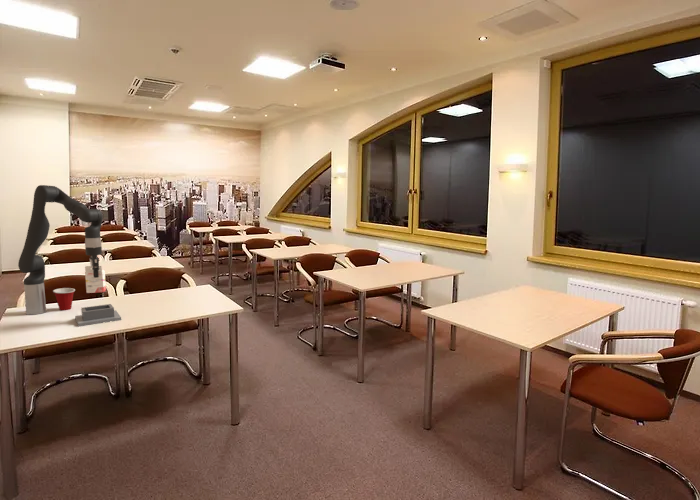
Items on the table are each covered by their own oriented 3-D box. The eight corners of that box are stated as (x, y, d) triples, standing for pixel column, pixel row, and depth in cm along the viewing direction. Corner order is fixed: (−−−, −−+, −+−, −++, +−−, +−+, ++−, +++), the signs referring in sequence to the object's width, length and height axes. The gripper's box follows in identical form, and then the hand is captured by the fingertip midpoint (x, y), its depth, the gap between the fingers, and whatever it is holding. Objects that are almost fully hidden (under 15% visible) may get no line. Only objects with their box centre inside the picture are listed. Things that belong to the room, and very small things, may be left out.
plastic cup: (65, 312, 243) (64, 292, 241) (50, 311, 245) (48, 291, 243) (81, 307, 253) (79, 288, 252) (65, 306, 255) (64, 287, 254)
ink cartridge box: (106, 290, 233) (104, 264, 231) (103, 292, 228) (102, 265, 226) (89, 291, 230) (87, 264, 228) (86, 293, 226) (84, 266, 223)
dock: (78, 326, 218) (77, 314, 217) (75, 318, 232) (74, 307, 231) (121, 320, 230) (120, 308, 230) (116, 312, 244) (115, 301, 243)
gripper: (83, 244, 229) (85, 274, 231) (86, 248, 218) (88, 279, 220) (99, 244, 233) (101, 273, 236) (103, 247, 222) (105, 277, 224)
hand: (95, 276), depth 228 cm, fingers closed on ink cartridge box, 6 cm apart
